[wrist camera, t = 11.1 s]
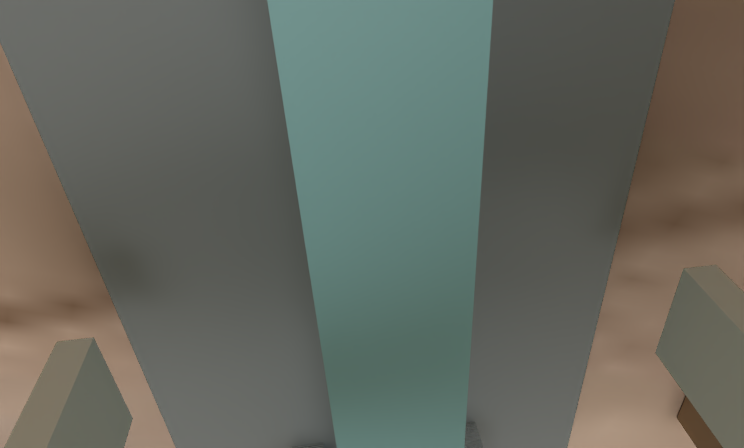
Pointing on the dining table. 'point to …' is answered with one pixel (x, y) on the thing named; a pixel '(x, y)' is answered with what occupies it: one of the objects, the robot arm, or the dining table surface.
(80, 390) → the robot arm
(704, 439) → the block
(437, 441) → the slat
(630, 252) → the dining table surface
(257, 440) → the cap board
